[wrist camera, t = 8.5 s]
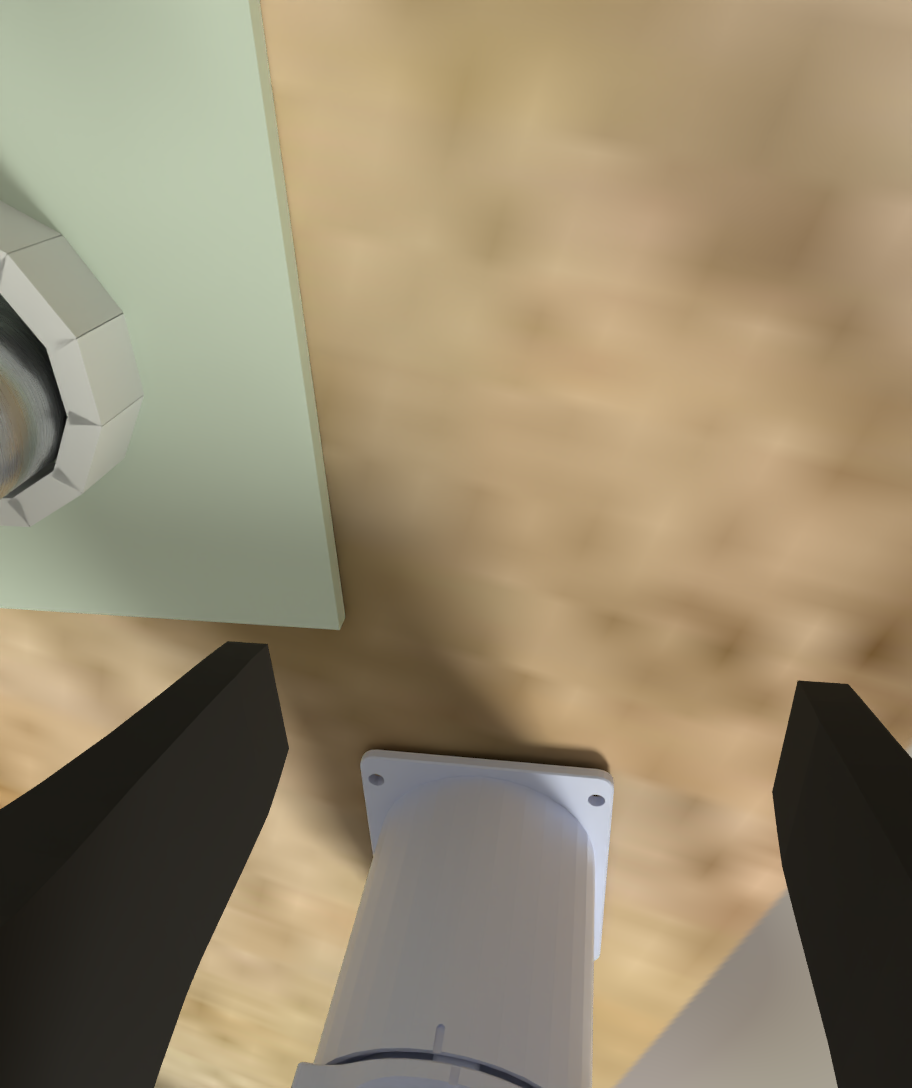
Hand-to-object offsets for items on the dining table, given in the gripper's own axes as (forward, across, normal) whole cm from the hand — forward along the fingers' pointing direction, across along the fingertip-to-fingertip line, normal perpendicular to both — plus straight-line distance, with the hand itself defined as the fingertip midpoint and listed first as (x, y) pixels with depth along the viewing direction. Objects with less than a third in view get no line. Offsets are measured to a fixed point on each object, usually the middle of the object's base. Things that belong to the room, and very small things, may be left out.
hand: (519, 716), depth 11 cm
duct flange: (+10, +14, -2) cm, 17 cm away
